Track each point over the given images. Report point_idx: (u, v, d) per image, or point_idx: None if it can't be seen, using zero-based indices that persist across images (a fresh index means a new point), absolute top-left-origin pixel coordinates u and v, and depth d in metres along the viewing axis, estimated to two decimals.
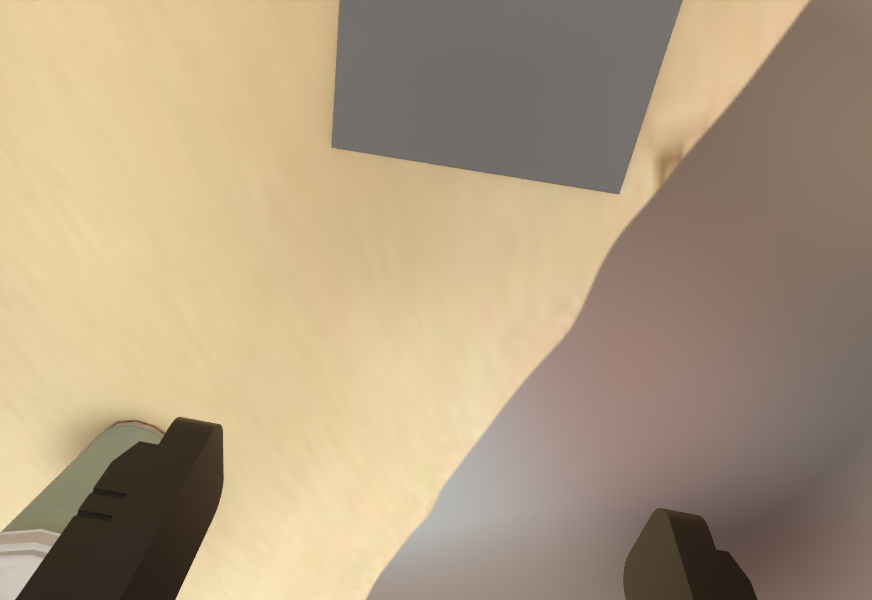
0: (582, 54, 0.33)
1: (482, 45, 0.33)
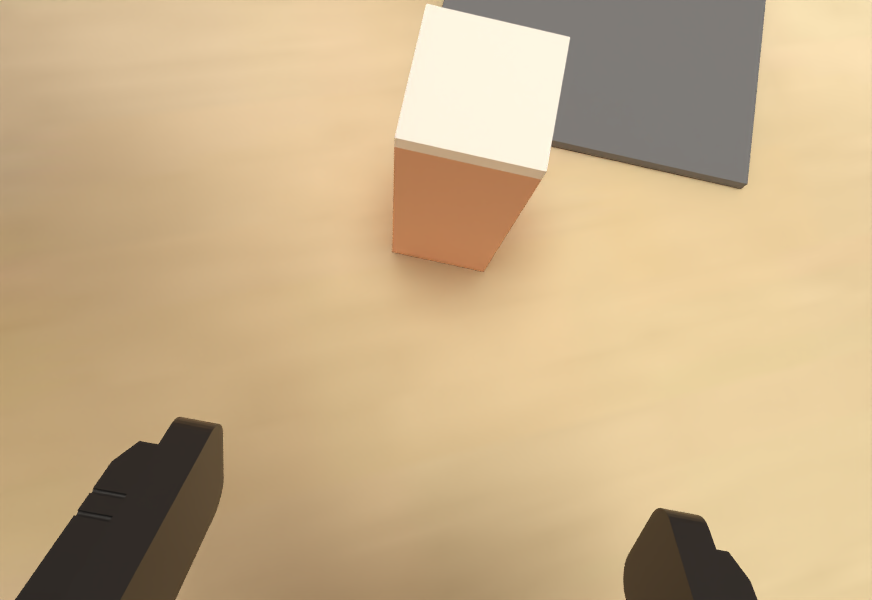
0: None
1: (631, 15, 0.32)
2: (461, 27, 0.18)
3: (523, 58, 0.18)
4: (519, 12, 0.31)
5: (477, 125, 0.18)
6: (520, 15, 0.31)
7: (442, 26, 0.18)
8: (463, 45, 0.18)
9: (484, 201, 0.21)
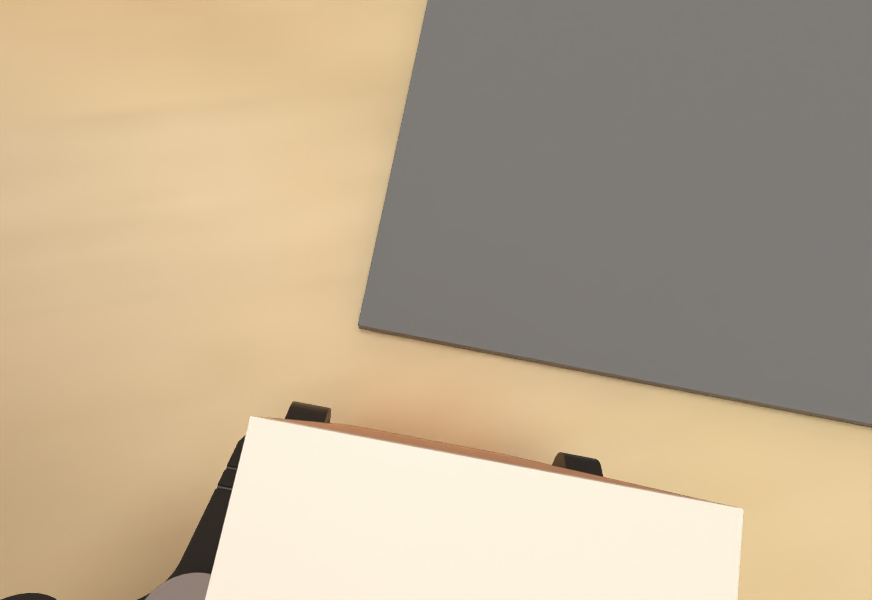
0: None
1: (717, 137, 0.19)
2: (373, 501, 0.05)
3: None
4: (530, 139, 0.19)
5: None
6: (532, 144, 0.19)
7: (306, 502, 0.05)
8: (378, 576, 0.05)
9: None
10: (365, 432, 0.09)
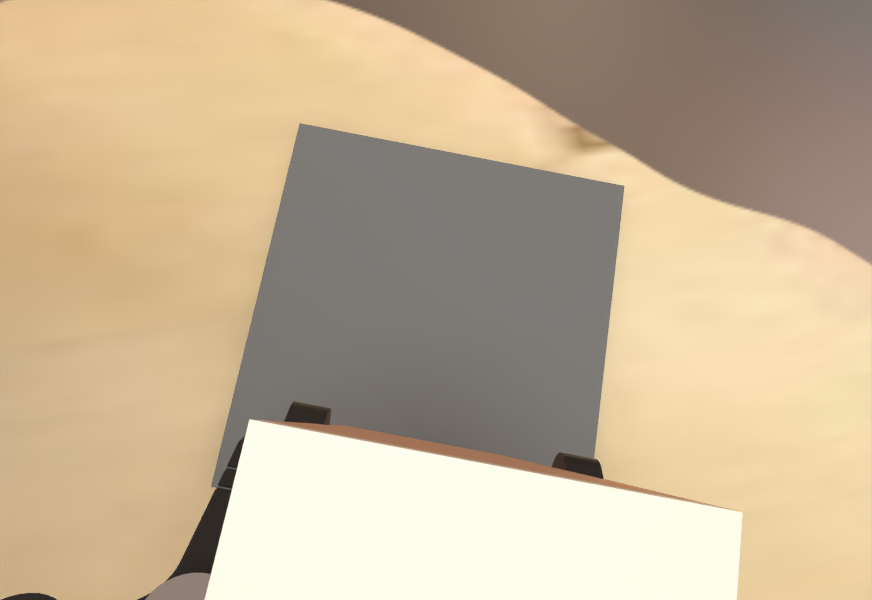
0: (467, 238, 0.30)
1: (457, 349, 0.29)
2: (371, 504, 0.05)
3: None
4: (331, 355, 0.28)
5: None
6: (331, 358, 0.28)
7: (306, 507, 0.05)
8: (376, 580, 0.05)
9: None
10: (364, 434, 0.09)
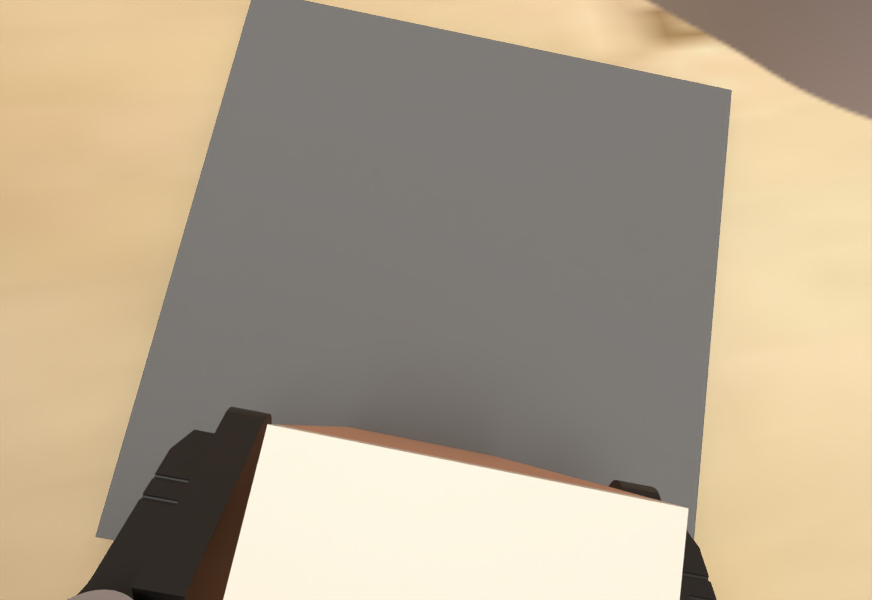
0: (502, 161, 0.20)
1: (487, 324, 0.19)
2: (371, 498, 0.06)
3: (554, 593, 0.06)
4: (292, 331, 0.18)
5: None
6: (293, 336, 0.18)
7: (314, 500, 0.06)
8: (374, 562, 0.06)
9: None
10: (365, 436, 0.10)
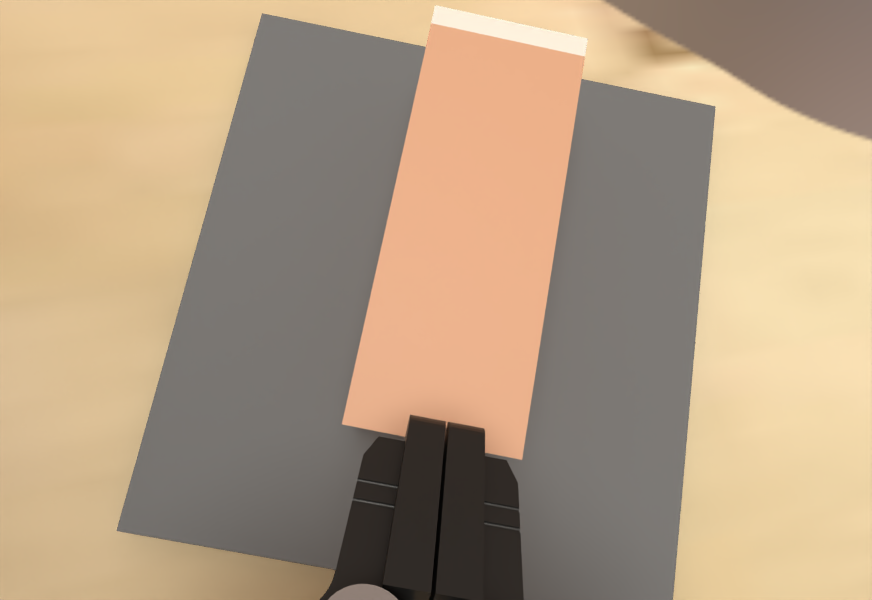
0: None
1: None
2: None
3: None
4: (300, 337, 0.20)
5: None
6: (300, 342, 0.20)
7: None
8: None
9: (524, 130, 0.17)
10: None
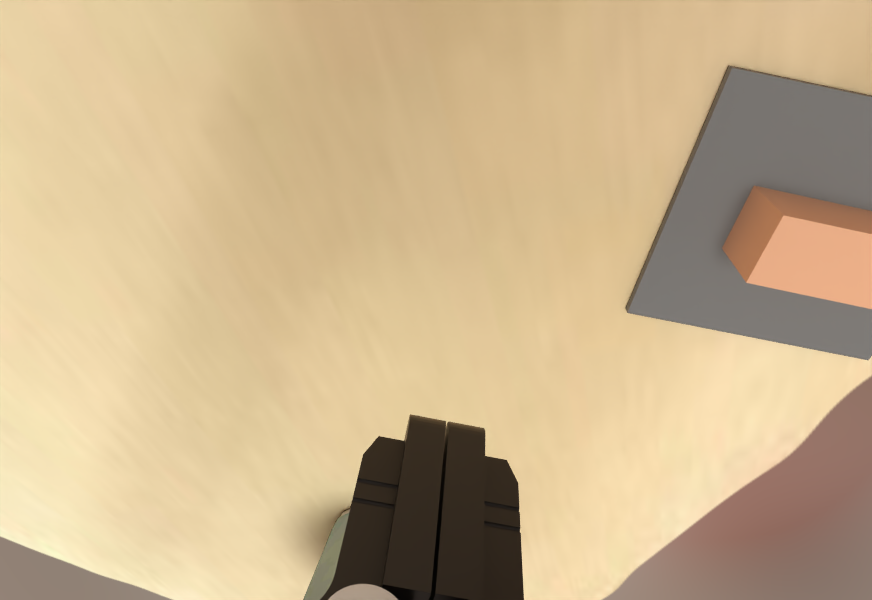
0: None
1: None
2: None
3: None
4: (809, 158, 0.36)
5: None
6: (807, 159, 0.36)
7: None
8: None
9: None
10: None
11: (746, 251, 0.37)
